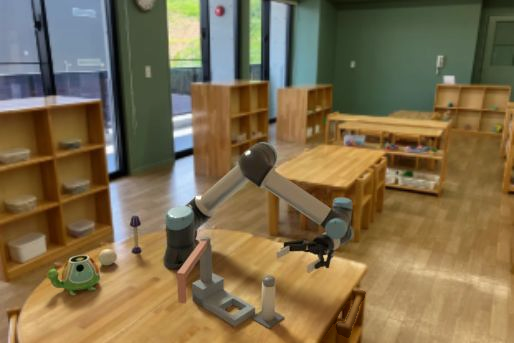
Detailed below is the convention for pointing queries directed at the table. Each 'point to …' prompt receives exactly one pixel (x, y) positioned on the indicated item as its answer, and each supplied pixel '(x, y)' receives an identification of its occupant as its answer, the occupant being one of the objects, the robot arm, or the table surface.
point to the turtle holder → (76, 274)
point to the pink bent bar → (190, 267)
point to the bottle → (268, 298)
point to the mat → (267, 323)
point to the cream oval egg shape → (107, 257)
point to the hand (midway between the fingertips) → (292, 262)
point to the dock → (217, 293)
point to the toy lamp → (135, 233)
